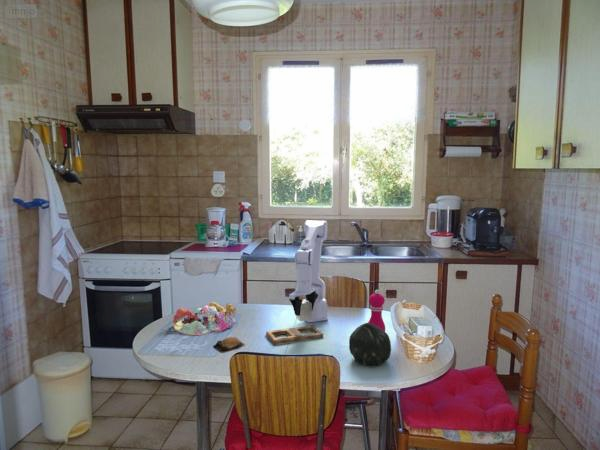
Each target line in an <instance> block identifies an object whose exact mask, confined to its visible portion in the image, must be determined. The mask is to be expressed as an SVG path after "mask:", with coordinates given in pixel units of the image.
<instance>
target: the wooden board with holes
mask: <svg viewBox="0 0 600 450" xmlns="http://www.w3.org/2000/svg"><path fill="white" fill-rule="evenodd" d="M305 332H312V333H306V334H303V333H305ZM265 335H266V337H267V338H268V340H270V342H271V343H272V344H273V345H274V346H275V345H276V346H277V345H284V344H289V343H296V342H303V341H304V342H305V341H309V340H316V339H324V333H323V332H322V331H320V330H319V328H317V327H316V326H315V325H313V324H311V325H304V326H296V327H290V328H283V329H276V330H268V331H265ZM283 335H287V336H284V337H278V336H283ZM276 336H277V338H276Z"/></svg>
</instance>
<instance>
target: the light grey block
mask: <svg viewBox="0 0 600 450" xmlns="http://www.w3.org/2000/svg"><path fill="white" fill-rule="evenodd" d="M302 300H303V301H302V304H301V311H300V316H297V315H295V317H296V318H297V320H298V321H300V322H304V321H305V322H306V320H312V302H311V301H309V300H308V299H305V298H303V299H302Z"/></svg>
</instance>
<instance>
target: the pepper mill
mask: <svg viewBox="0 0 600 450" xmlns="http://www.w3.org/2000/svg"><path fill="white" fill-rule="evenodd" d="M368 302H369V304H370V306H369V309H370V313H371V314H370V318H369V320H368V322H367V323H371V324H374V325H376V326H377V327H380V328H381V329H382V330H383V331H384V332H386V324H385V322H384V319H383V316H382V314H383V310H384V306H383V305H385V302H386V301H385V297H384V295H383V294H381V293H380V290H379V289H376V290H374V293H372V294H371V295H369V300H368Z"/></svg>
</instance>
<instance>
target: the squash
mask: <svg viewBox="0 0 600 450" xmlns="http://www.w3.org/2000/svg"><path fill="white" fill-rule="evenodd" d="M348 343H349V345H348V347H349V352H350V354H351V356H353V359H354V361H355V362H356V363H357V364H363V365H364V366H370V365H371V364H372V365H374V366H379V365H380V364H383V363H386V362H387V361H388V360H389V358H390V357H391V353H392V345H391V343H392V342H391V339H390V336H389V334H388V333H387V332H386V331H385V332H384V331H383V330H382V329H381V328H380V327H377V326H376V325H374V324H371V323H368V322H365V323H363V324H360V325H358V326H357V327H356V328H355V329H354V330H353V332H352V333H351V334H350V336H349V339H348Z"/></svg>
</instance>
